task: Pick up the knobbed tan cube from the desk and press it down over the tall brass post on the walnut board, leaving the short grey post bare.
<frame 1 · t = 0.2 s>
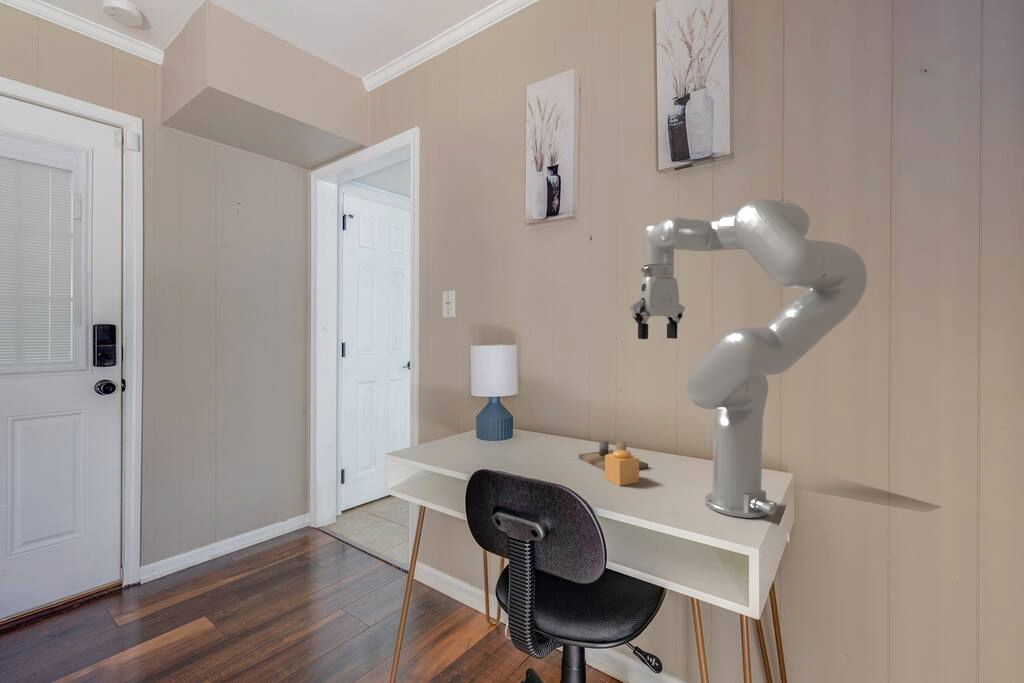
hand: (657, 338, 122), 36 cm above the table, fingers open, 9 cm apart
knobbed tan cube: (621, 480, 118), on the table
post board: (612, 463, 133), on the table
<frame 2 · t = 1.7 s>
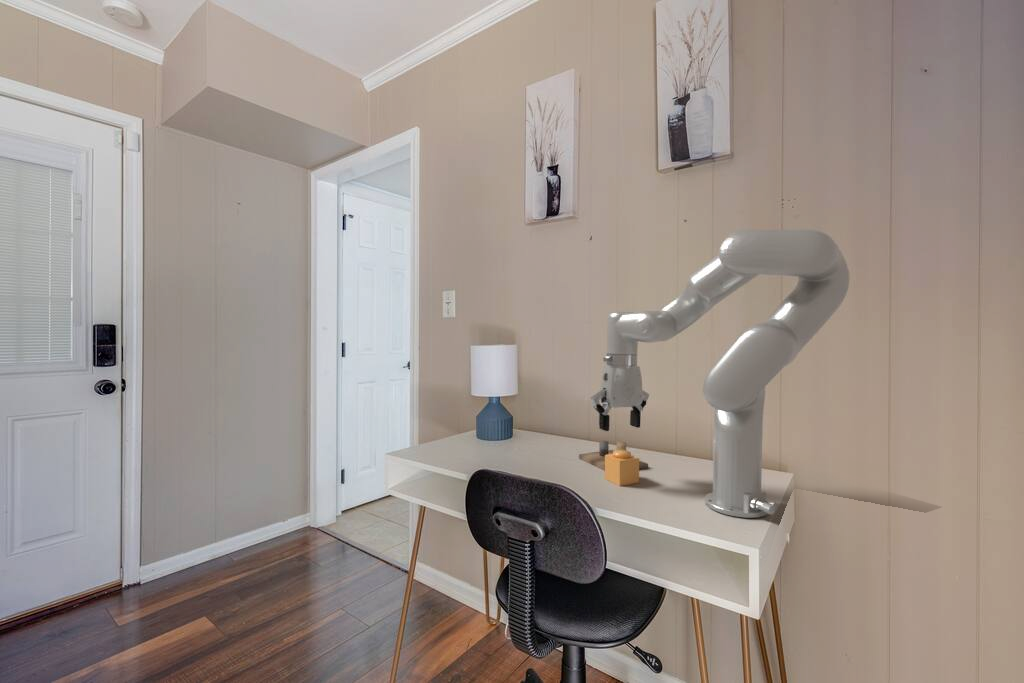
hand: (619, 428, 118), 13 cm above the table, fingers open, 9 cm apart
nothing on the table moved.
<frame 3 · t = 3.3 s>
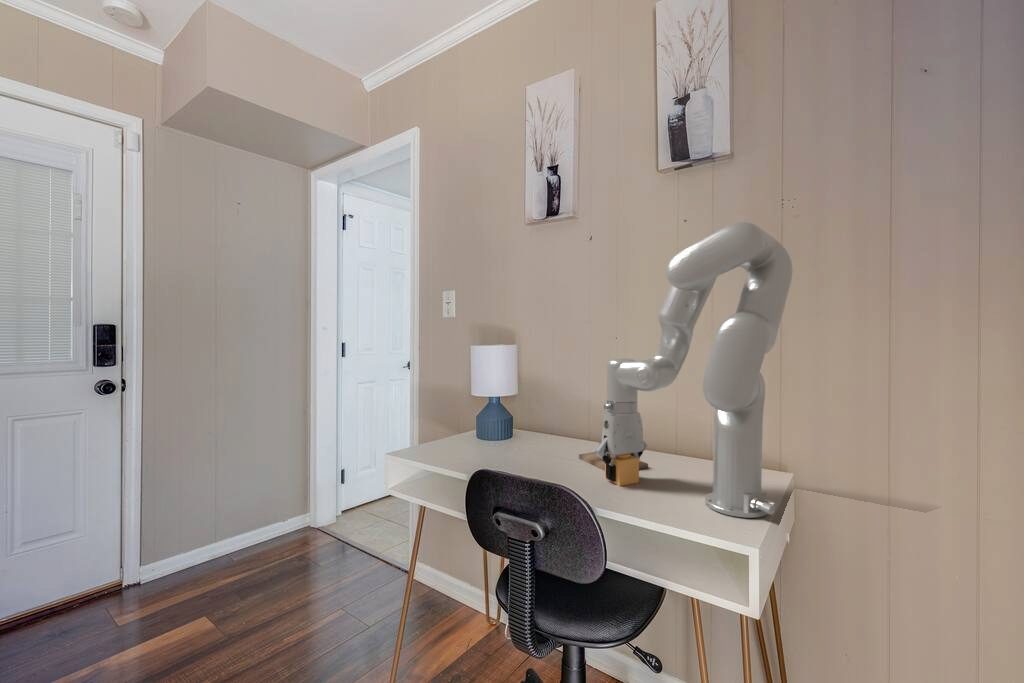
hand: (621, 477, 118), 1 cm above the table, fingers closed on knobbed tan cube, 6 cm apart
knobbed tan cube: (621, 480, 118), on the table, touching gripper
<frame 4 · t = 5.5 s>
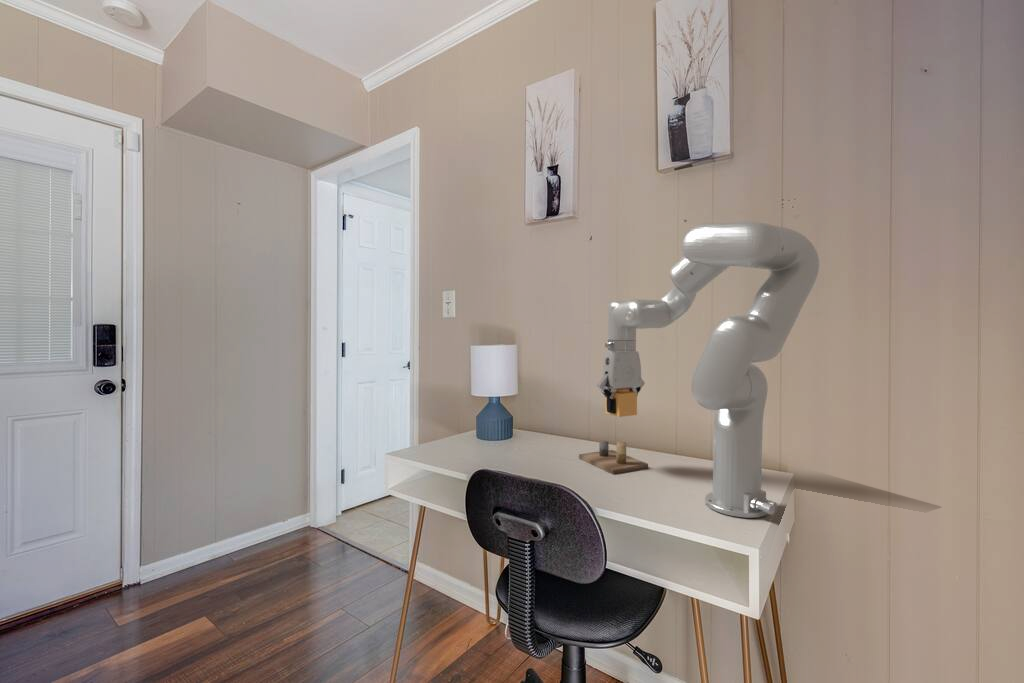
hand: (621, 411, 128), 16 cm above the table, fingers closed on knobbed tan cube, 6 cm apart
knobbed tan cube: (621, 413, 129), point 15 cm above the table, touching gripper
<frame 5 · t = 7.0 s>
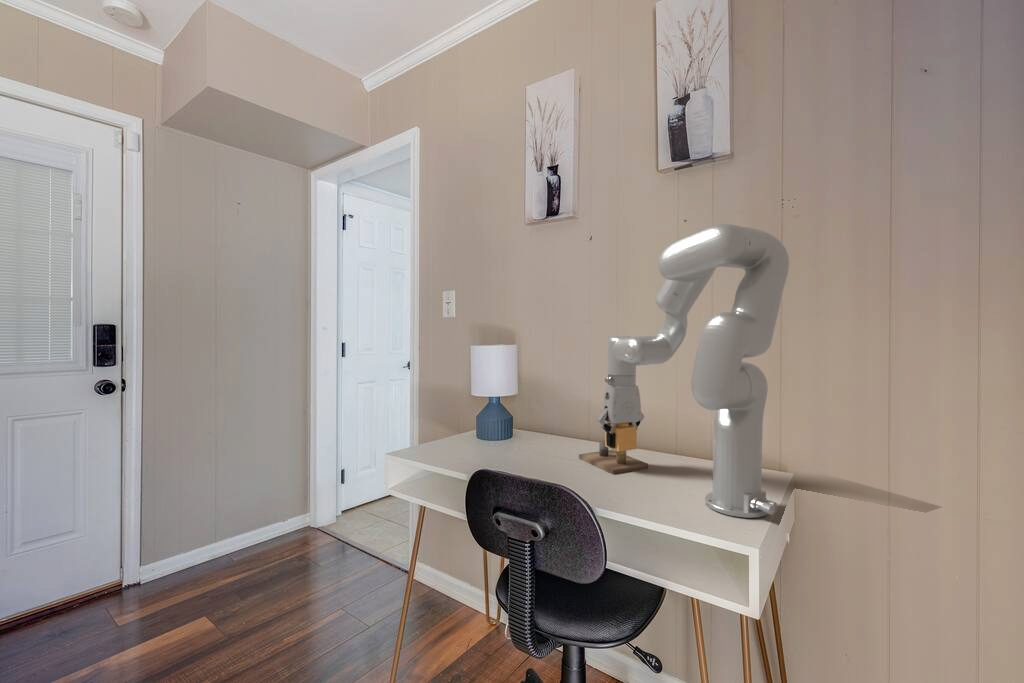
hand: (620, 444, 129), 6 cm above the table, fingers closed on knobbed tan cube, 6 cm apart
knobbed tan cube: (620, 447, 129), point 5 cm above the table, touching gripper
when the fingers open (3 cm above the table, at t = 8.0 s): knobbed tan cube stays where it is, resting on post board.
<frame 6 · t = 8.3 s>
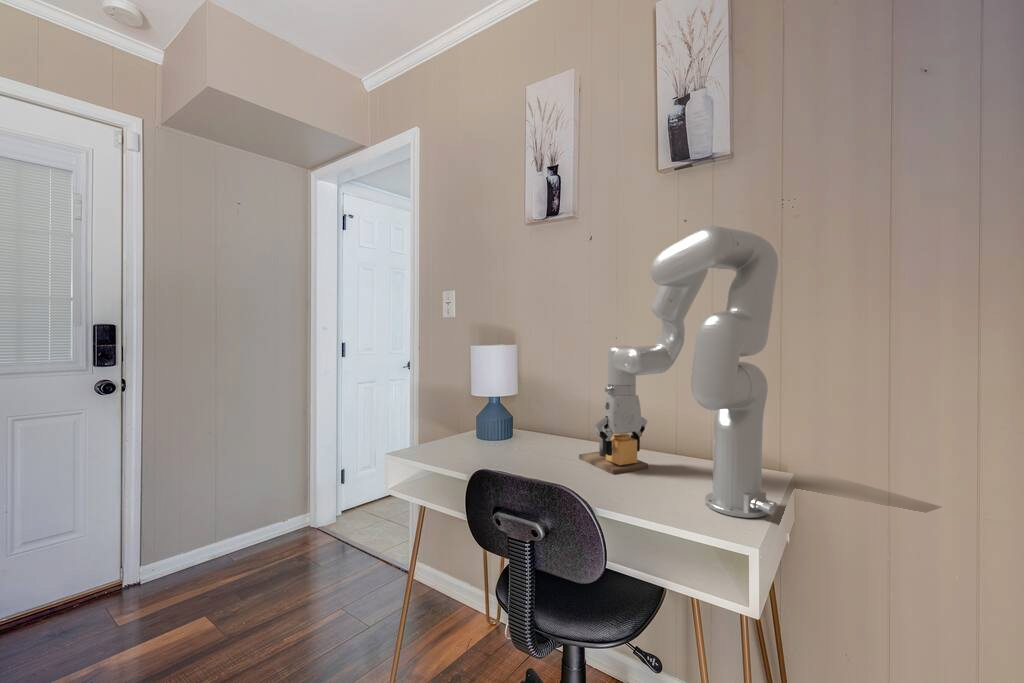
hand: (621, 452, 129), 4 cm above the table, fingers open, 9 cm apart
knobbed tan cube: (621, 460, 129), point 2 cm above the table, touching post board
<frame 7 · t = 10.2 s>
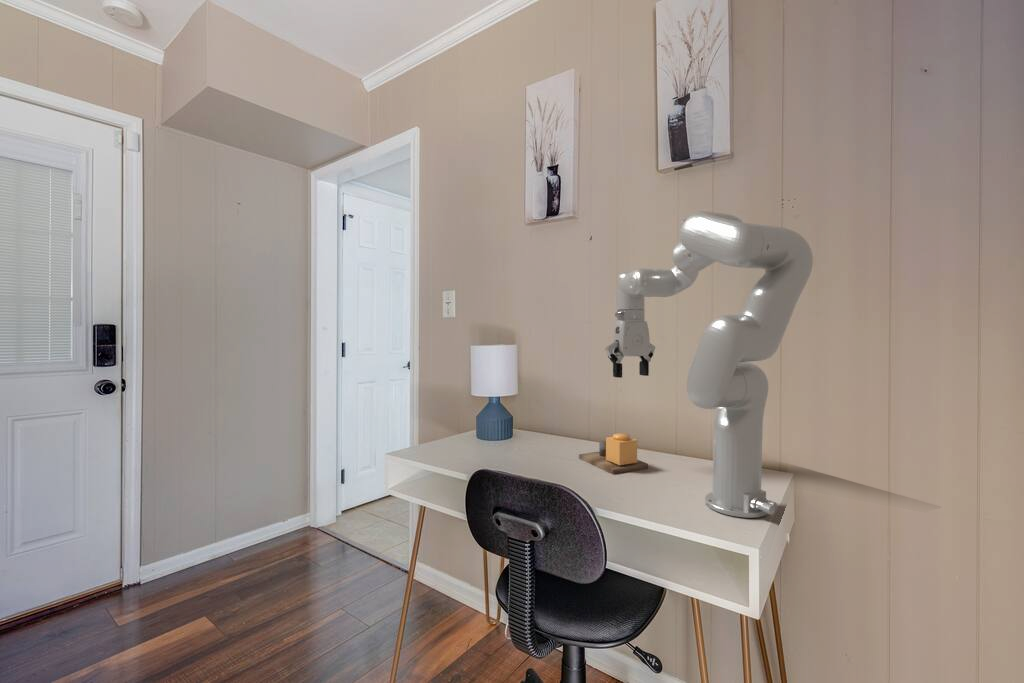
hand: (631, 376, 133), 25 cm above the table, fingers open, 9 cm apart
nothing on the table moved.
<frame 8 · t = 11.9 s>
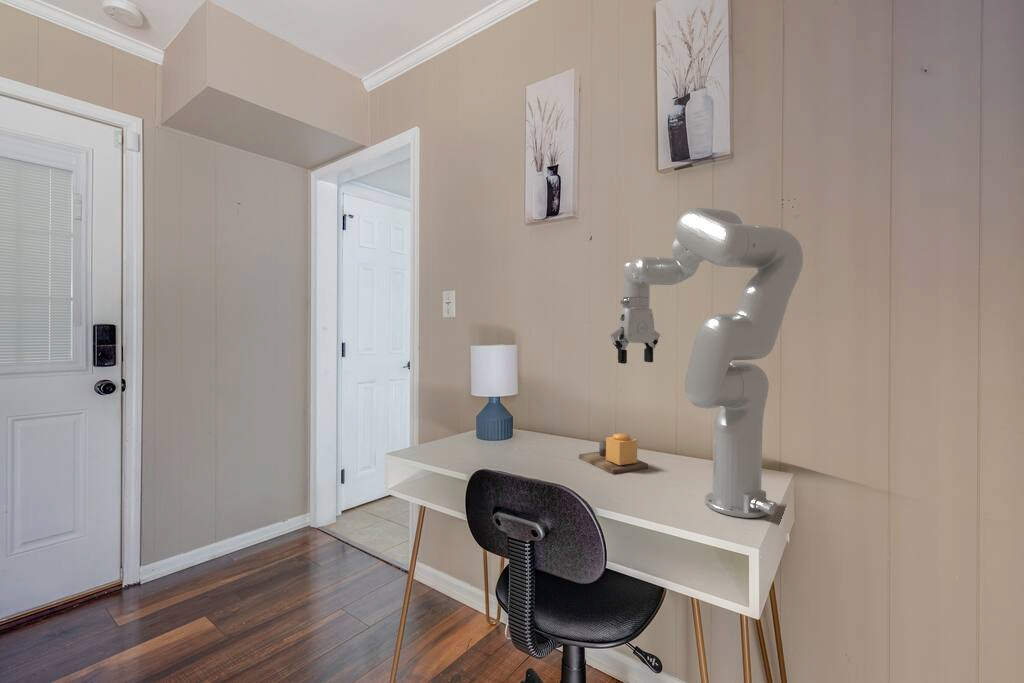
hand: (635, 362, 136), 28 cm above the table, fingers open, 9 cm apart
nothing on the table moved.
at the end: knobbed tan cube 0.0 cm from the target spot on the post board, point 1.7 cm above the post board's base; knobbed tan cube tilted 0°; the gripper is holding nothing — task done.
